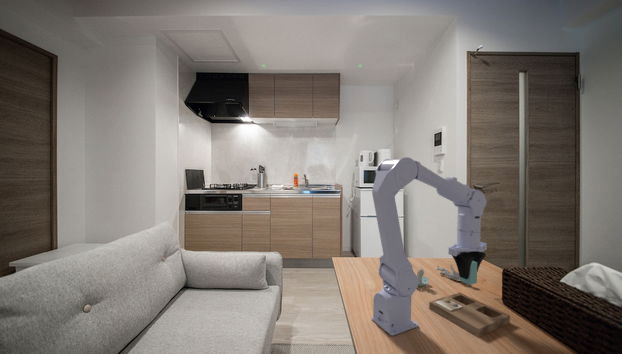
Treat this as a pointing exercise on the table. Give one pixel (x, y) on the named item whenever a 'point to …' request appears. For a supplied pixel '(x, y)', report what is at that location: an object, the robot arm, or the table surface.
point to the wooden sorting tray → (469, 314)
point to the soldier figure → (451, 275)
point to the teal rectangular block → (471, 274)
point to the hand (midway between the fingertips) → (467, 276)
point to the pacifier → (421, 278)
